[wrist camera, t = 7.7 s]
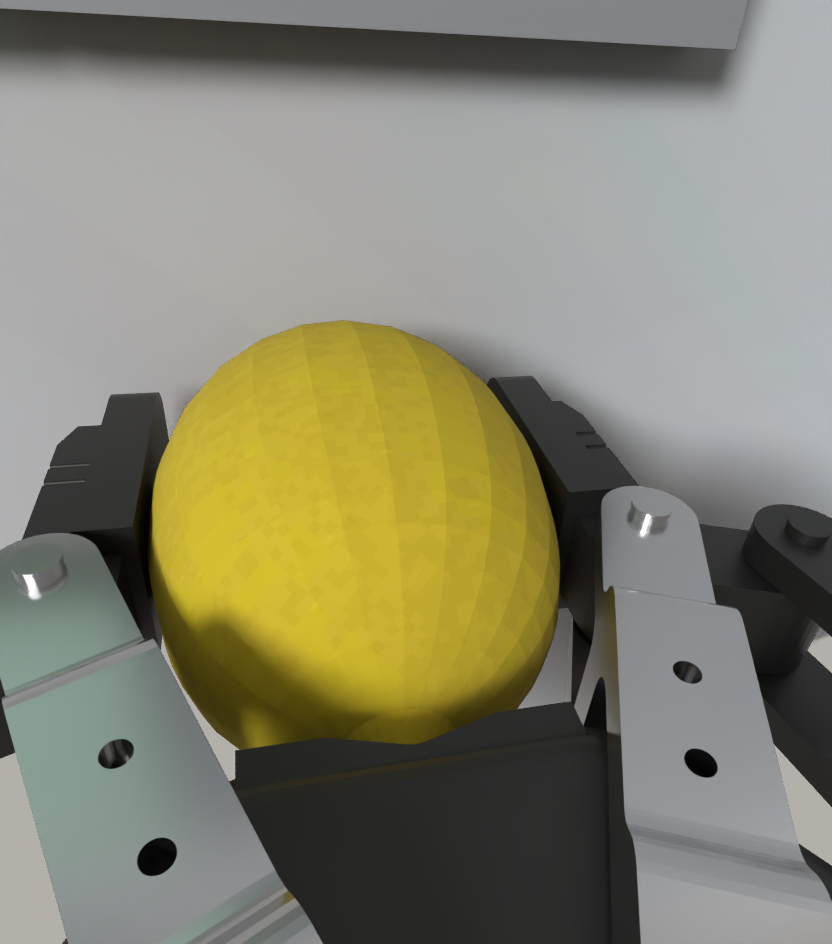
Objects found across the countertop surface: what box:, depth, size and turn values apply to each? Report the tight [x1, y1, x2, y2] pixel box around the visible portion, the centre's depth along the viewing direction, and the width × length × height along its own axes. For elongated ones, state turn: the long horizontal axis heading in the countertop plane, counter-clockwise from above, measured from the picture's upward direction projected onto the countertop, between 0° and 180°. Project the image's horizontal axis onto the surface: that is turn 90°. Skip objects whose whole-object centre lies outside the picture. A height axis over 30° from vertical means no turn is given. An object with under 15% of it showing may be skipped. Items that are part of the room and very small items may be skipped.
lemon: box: [148, 320, 560, 750], centre depth 10 cm, size 6×6×8 cm
